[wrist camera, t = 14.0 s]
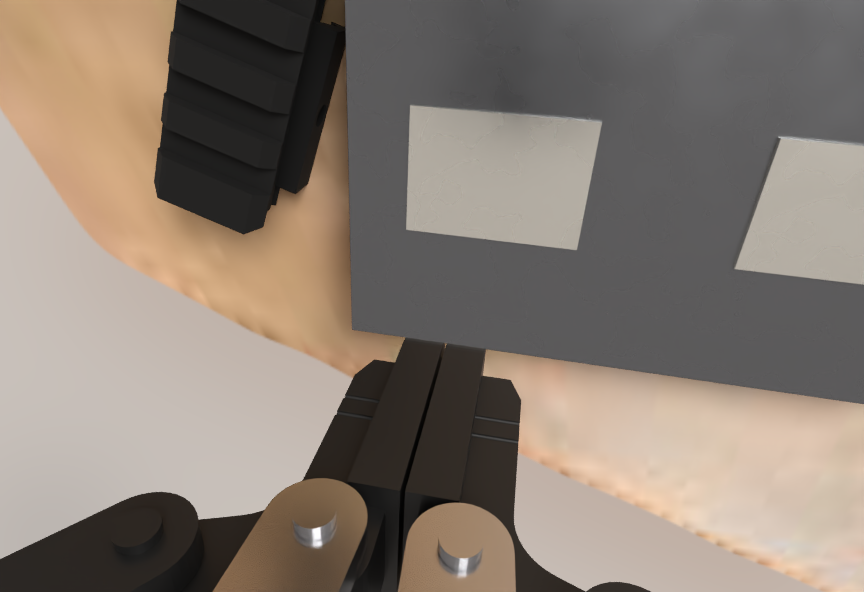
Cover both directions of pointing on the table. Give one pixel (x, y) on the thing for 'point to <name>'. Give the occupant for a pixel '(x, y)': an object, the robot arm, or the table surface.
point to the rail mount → (244, 105)
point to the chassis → (615, 183)
